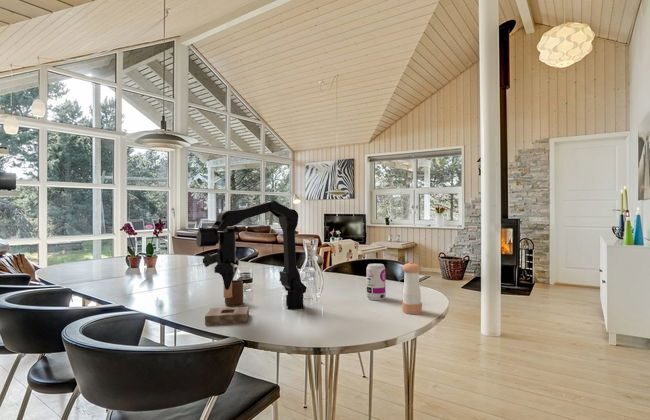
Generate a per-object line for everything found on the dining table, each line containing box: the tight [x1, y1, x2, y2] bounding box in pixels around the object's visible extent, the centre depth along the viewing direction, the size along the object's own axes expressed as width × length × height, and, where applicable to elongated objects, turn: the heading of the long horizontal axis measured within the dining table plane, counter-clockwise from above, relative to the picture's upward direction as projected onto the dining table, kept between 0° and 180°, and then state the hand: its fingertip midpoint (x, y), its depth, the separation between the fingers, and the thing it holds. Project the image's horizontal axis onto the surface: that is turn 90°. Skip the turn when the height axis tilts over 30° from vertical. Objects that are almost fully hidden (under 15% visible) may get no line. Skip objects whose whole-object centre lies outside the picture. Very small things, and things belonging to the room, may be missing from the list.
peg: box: [222, 282, 232, 299], centre depth 129 cm, size 3×3×10 cm
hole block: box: [204, 306, 250, 326], centre depth 129 cm, size 14×10×3 cm
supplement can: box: [366, 263, 387, 301], centre depth 158 cm, size 8×8×15 cm
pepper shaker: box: [401, 261, 423, 315], centre depth 137 cm, size 7×7×19 cm
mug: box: [224, 279, 244, 307], centre depth 149 cm, size 12×8×9 cm, turn 173°
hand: (227, 288), depth 129 cm, fingers closed on peg, 3 cm apart
